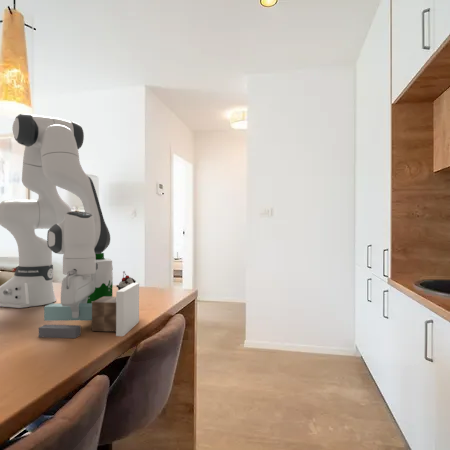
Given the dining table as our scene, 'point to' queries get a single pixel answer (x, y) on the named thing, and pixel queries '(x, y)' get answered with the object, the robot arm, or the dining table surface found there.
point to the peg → (67, 312)
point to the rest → (60, 331)
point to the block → (104, 314)
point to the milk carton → (102, 279)
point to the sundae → (125, 282)
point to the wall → (127, 308)
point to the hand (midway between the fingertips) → (79, 314)
